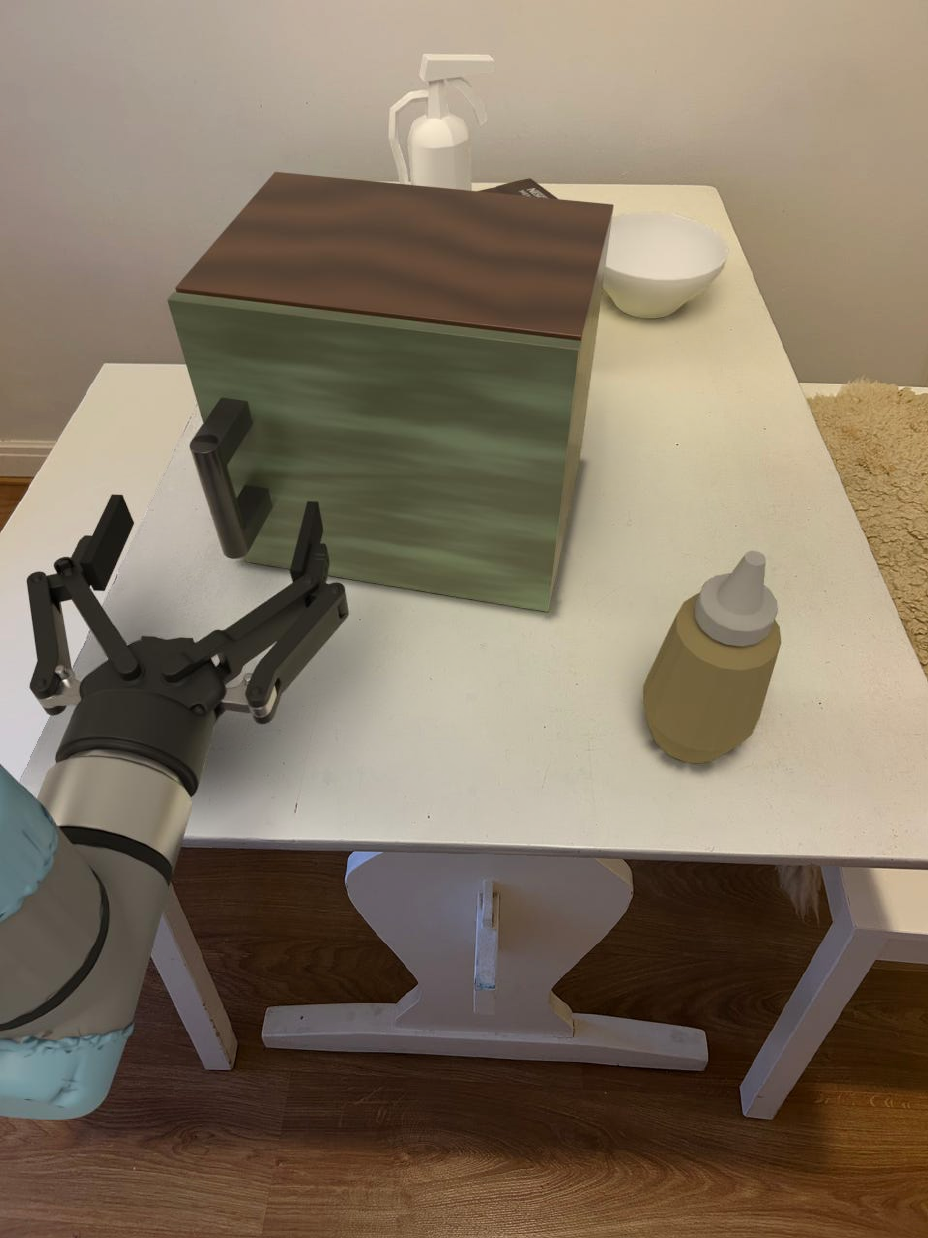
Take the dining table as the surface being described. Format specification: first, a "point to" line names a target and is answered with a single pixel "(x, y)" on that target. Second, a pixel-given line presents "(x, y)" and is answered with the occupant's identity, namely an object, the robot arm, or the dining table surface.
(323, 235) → the cupboard
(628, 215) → the bowl
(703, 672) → the squeeze bottle
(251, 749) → the dining table surface
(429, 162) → the fire extinguisher
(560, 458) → the cupboard door
